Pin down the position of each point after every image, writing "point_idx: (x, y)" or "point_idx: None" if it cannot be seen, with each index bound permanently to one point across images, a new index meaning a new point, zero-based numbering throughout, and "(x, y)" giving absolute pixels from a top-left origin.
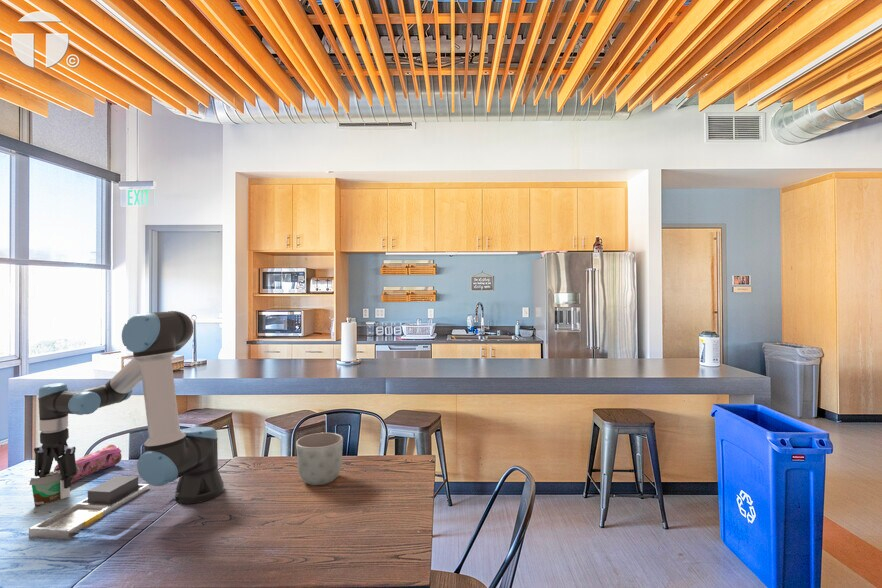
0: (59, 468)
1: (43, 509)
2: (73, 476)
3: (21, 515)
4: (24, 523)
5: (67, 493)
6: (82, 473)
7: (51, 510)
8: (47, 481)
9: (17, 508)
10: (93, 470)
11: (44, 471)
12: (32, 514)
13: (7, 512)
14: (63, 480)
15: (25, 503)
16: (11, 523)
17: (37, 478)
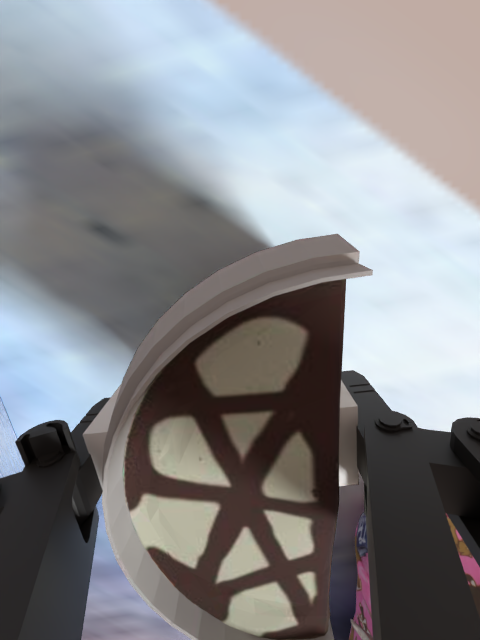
0: (22, 593)
1: (188, 245)
2: (356, 560)
3: (244, 137)
4: (82, 40)
5: None
6: (357, 597)
7: (120, 247)
8: (145, 343)
9: (384, 213)
10: (350, 631)
11: (368, 496)
12: (182, 170)
13: (396, 147)
14: (95, 441)
15: (401, 281)
16: (179, 11)
17: (246, 299)
